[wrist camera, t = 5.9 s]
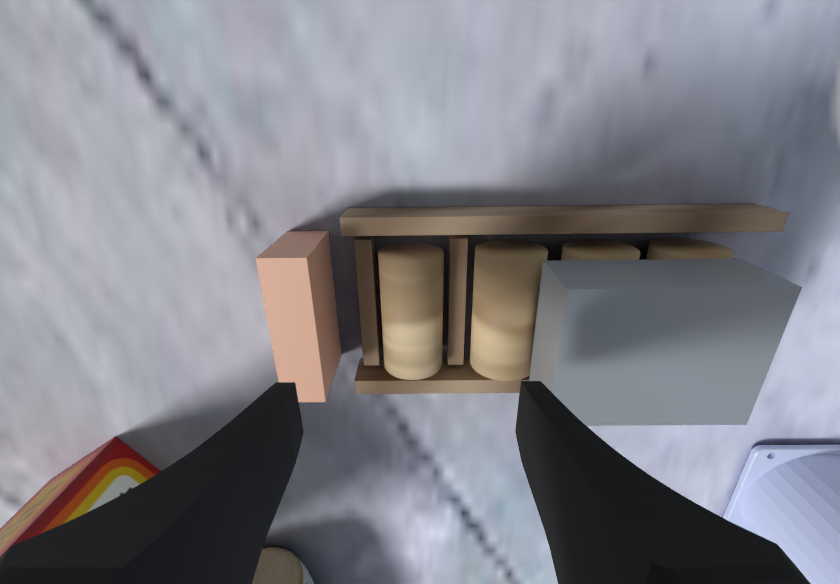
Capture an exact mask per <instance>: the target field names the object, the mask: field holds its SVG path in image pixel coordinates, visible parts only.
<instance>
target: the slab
mask: <svg viewBox="0 0 840 584" xmlns="http://www.w3.org/2000/svg"><path fill="white" fill-rule="evenodd" d="M801 288H802V287H800V286H798V285H796V284H794V283H791V282H789V281H787V280H785V279H782V278H780V277H778V276H776V275H773V274H771V273H769V272H767V271H765V270H762V269H760V268H758V267H756V266H753V265H751V264H749V263H747V262H744V261H742V260H740V259H662V260H559V261H543V266H542V275H541V283H540V291H539V300H538V308H537V317H536V325H535V334H534V342H533V351H532V359H531V368H530V376H529V381H541V382H542V383H543V384H544V385H545V386H546V387H547V388H548V389H549V390H550V391H551V392H552V393H553V394H554V395H555V396H556V397H557V398H558V399H559V400H560V401H561V402H562V403H563V404H564V405H565V406H566V407H567V408H568V409H569V410H570V411H571V412H572V413H573V414H574V415H575V416H576V417H577V418H578V419H579V420H580V421H581V422H582V423H584V424H585V425H586V426H600V425H747V422H748V420H749V417H750V415H751V412H752V410H753V407H754V405H755V402H756V400H757V397H758V395H759V392H760V390H761V387H762V385H763V382H764V380H765V377H766V375H767V372H768V370H769V368H770V365H771V363H772V360H773V358H774V355H775V353H776V350H777V348H778V345H779V343H780V340H781V338H782V335H783V333H784V330H785V328H786V325H787V323H788V320H789V318H790V315H791V313H792V311H793V308H794V306H795V303H796V301H797V298H798V296H799V293H800V291H801Z"/></svg>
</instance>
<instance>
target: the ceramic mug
mask: <svg viewBox="0 0 840 584" xmlns="http://www.w3.org/2000/svg"><path fill="white" fill-rule="evenodd" d="M252 584H314V582H313V580H312V577H311V576H310V574H309V572H308V570H307V568H306V567H305V565H304V564H303V563H302V562H301V561H300V560H299V559H298V557H297V556H295V555H294V554H293V553H292V552H290V551H289V550H286V549H282V548H279V547H268V548H263V549H262V551H261V555H260V558H259V561H258V565H257V568H256V572H255V575H254V578H253V582H252Z"/></svg>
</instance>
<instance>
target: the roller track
mask: <svg viewBox="0 0 840 584" xmlns="http://www.w3.org/2000/svg"><path fill="white" fill-rule="evenodd" d="M788 215H789V213H787V212H783V211H779V210H776V209H772V208H768V207H764V206H760V205H756V204H673V205H580V206H488V207H396V208H347V209H346V210H345V211H344V213H343V214H342V215H341V216H340V218H339V220H340V231H341V236H356V237H355V238H354V249H355V261H356V274H357V286H358V299H359V311H360V323H361V336H362V348H363V359H360V361H359V365H358V369H357V373H356V377H355V392H356V394H410V393H520V386H521V381H529V376H530V368H531V359H532V351H533V342H534V334H535V325H536V317H537V308H538V300H539V291H540V283H541V275H542V266H543V261H547V257H548V250H547V249H546V248H545V247H543V246H541V245H539V244H536V243H533V242H528V241H522V240H512V239H499V240H490V241H485V242H482V243H479V244H478V245H476V247H475V260H474V282H473V304H472V326H471V348H470V358H465V359H463V358H464V331H465V305H466V278H467V252H468V237H467V235H497V234H594V233H691V232H782V231H783V229H784V226H785V223H786V220H787V217H788ZM399 235H449V245H448V302H447V359H442V367H441V369H440V370H439V371H438V372H437V373H436V374H434V375H432V376H430V377H428V378H424V379H419V380H406V379H400V378H397V377H395V376H393V375H391V374H390V373H388V372H387V370H386V369H385V366H384V359H380V357H381V340H380V323H379V306H378V289H377V272H376V255H375V238H374V236H399ZM733 256H734V252H733V251H732V250H731V249H729V248H727V247H724V246H722V245H719V244H715V243H711V242H707V241H702V240H695V239H687V238H658V239H654V240H651V241H650V243H649V247H648V252H647V256H646V260H662V259H733ZM639 257H640V251H639V250H638V249H637V248H635V247H633V246H631V245H628V244H625V243H621V242H617V241H612V240H605V239H591V238H585V239H574V240H569V241H567V242H565V243H564V244H563V247H562V255H561V260H639Z"/></svg>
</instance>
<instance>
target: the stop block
mask: <svg viewBox="0 0 840 584" xmlns="http://www.w3.org/2000/svg"><path fill="white" fill-rule="evenodd" d="M256 263H257V268H258V274H259V279H260V284H261V290H262V295H263V301H264V306H265V311H266V317H267V322H268V328H269V333H270V338H271V344H272V349H273V354H274V360H275V365H276V371H277V376H278V381H279V382H295V384H296V390H297V396H298V402H326V400H327V397H328V394H329V391H330V388H331V385H332V382H333V379H334V376H335V373H336V370H337V367H338V364H339V361H340V358H341V355H342V354H341V345H340V335H339V326H338V316H337V307H336V297H335V288H334V279H333V269H332V260H331V250H330V241H329V231H287V232H286V233H285V234H284V235H282V236H281V237H280V238H279V239H278V240H277V241H275V242H274V243H273V244H272V245H271V246H270V247H268V248H267V249H266V250H265V251H264V252H262V253H261V254H260V255H259V256H258V257H257V258H256Z"/></svg>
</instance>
